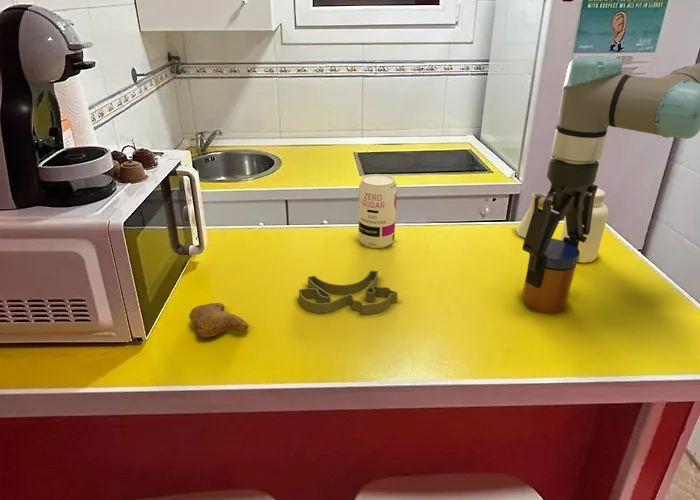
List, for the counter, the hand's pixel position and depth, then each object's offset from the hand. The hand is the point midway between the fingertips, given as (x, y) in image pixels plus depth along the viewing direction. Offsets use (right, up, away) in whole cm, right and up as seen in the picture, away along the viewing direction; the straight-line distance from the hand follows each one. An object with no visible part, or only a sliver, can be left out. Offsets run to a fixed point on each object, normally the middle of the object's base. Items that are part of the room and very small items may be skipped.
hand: (548, 277), depth 95 cm
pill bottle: (+13, +4, +19) cm, 24 cm away
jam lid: (0, +5, -3) cm, 6 cm away
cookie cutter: (-37, -4, +3) cm, 37 cm away
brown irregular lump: (-59, -8, -4) cm, 60 cm away
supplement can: (-30, +7, +24) cm, 40 cm away
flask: (+7, +9, +28) cm, 30 cm away
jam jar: (0, -5, +3) cm, 5 cm away
